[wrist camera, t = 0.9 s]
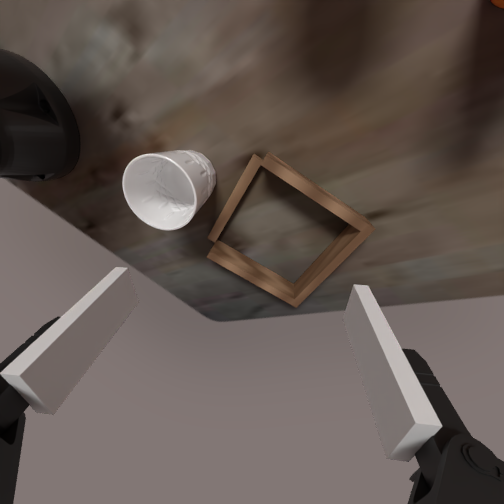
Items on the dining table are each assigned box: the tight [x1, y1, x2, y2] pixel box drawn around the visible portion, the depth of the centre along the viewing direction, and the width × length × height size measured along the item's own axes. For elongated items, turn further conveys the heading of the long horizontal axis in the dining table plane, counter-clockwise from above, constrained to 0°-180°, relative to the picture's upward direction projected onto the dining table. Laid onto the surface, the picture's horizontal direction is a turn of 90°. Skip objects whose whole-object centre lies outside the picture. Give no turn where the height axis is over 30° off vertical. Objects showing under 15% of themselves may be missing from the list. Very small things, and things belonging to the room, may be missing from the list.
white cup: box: [122, 150, 216, 230], centre depth 28 cm, size 8×8×10 cm
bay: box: [207, 152, 375, 307], centre depth 32 cm, size 18×16×4 cm
